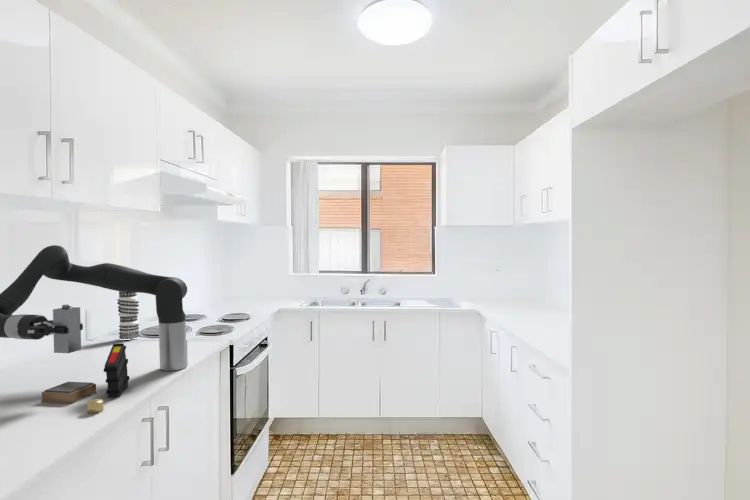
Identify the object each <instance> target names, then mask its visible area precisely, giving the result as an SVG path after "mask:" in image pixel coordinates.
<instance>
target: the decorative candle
mask: <svg viewBox="0 0 750 500" xmlns="http://www.w3.org/2000/svg"><path fill="white" fill-rule="evenodd" d="M137 294H138V293H137V292H122V291H118V299H117V302H116V304H117V305H118V306H117V309H118V310H117V311H118V316H119V325H118V327H119V329H118V331H119V333H118V334H119V337H118V338H119V340H120V339H133V338H137V337H139V336H140V334H139V333H140V331H139V329H140V327H139V326H140V324H139V320H138V315H139V311H140V310H139V309H138V307H139V306H140V305H139V303H140V302H139V301H137V300H138V295H137Z"/></svg>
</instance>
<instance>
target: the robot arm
mask: <svg viewBox="0 0 750 500" xmlns="http://www.w3.org/2000/svg"><path fill="white" fill-rule="evenodd" d="M43 276H44V277H46V278H48V279H51V280H57V281H64V282H73V283H78V284H83V285H89V286H94V287H99V288H103V289H107V290H112V291H114V292H115V291H116V292H119V291H122V292H137V294H138V293H140V294H142V293H143V294H147V295H148V294H149V295H153V296H155V311H156V315H157V318H158V319H157V320H158V342H159V343H158V347H159V349H158V350H159V370H160V371H164V372H166V371H167V372H168V371H169V372H170V371H178V370H184V369H185V368H187V367H188V363H189V362H188V361H189V360H188V340H187V329H186V328H187V327H186V325H187V324H186V313H185V311H184V308H183V307H184V306H183V305H184V304H183V298H185V297H186V295H187V294H188V286H187V284H186V283H185V282H184V281H183V280H182V279H181V278H179V277H175V276H174V277H172V276H164V275H157V274H153V273H148V272H145V271H141V270H138V269H135V268H131V267H128V266H123V265H119V264H116V263H115V264H114V263H110V262H103V263H99V264H95V265H91V266H90V265H89V266H85V265H84V266H83V265H78V264H74V263H72V262H70V259H69V255H68V251H67V250H66V249H65V247H63V246H61V245H55V244H53V245H49V246H45V247H44V248H43V249H41V250H40V251H39V252H38V253H37V255H36V256H35V257H33V259H32V260H31V262H30V263H29V264H28V265H27V266H26V267H25V268H24V270H22V272H21V273H20V275H19V276H17V278H16V279H15V280H14V281H13V282H12V283H11V284H10V285H8V286H7V287H6V288H5V289H4V290H3V291H2V292H0V338H4V339H5V338H6V339H9V338H10V339H16V340H32V341H33V340H34V341H35V340H36V341H37V340H41V339H42V338H44V337H48V336H50V335H52V336H54V334H67V333H69V327H68V326H55V325H53V319H48V318H47V317H46V316H45V315H42V314H26V313H25V314H13V313H15V312H16V311H17V310H18V309H19V308H21V306H23V304H24V303H26V301H27V300H28V299H29V297H30V296H31V294H32V293H33V291H34V289H35V288H36V286H37V284H38V283H39V281H40V280H41V279H42V277H43ZM80 325H81V331H83V328H84V325H83V323H82V322H81V324H80Z"/></svg>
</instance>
